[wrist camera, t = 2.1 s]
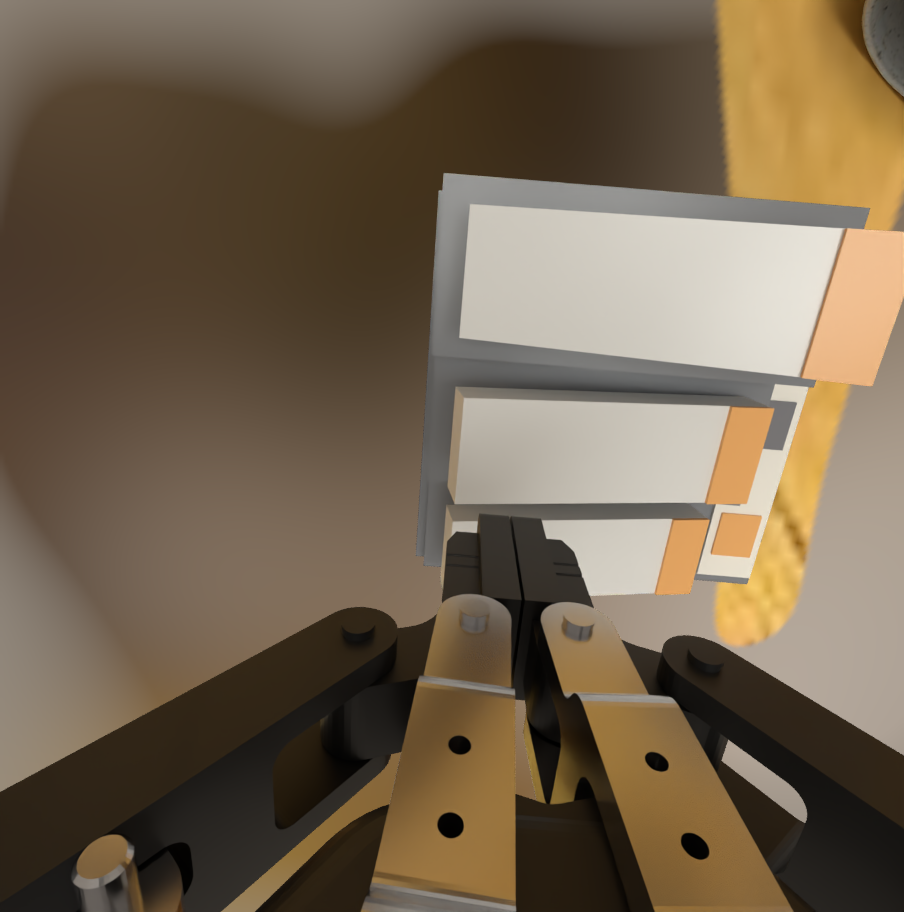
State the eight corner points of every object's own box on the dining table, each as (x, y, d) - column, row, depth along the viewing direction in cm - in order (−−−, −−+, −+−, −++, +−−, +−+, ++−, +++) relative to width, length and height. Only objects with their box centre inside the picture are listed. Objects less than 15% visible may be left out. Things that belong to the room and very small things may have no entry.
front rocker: (480, 208, 18) (469, 203, 16) (892, 236, 16) (926, 233, 14) (469, 332, 19) (458, 338, 18) (846, 374, 17) (872, 386, 15)
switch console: (440, 192, 25) (425, 166, 17) (840, 226, 25) (1011, 214, 17) (417, 544, 31) (399, 642, 23) (737, 572, 31) (825, 679, 23)
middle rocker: (455, 386, 20) (465, 399, 19) (744, 396, 22) (774, 408, 21) (447, 486, 22) (455, 506, 20) (719, 486, 24) (746, 504, 22)
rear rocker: (446, 504, 25) (453, 523, 23) (688, 503, 27) (709, 519, 25) (440, 581, 26) (446, 603, 24) (670, 573, 28) (689, 593, 27)
